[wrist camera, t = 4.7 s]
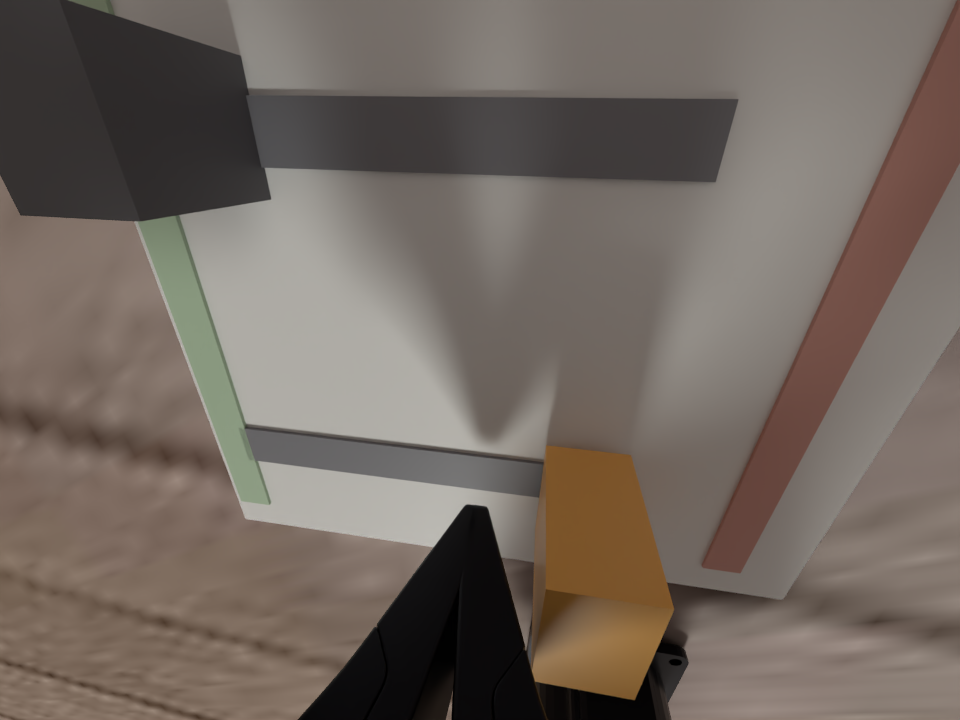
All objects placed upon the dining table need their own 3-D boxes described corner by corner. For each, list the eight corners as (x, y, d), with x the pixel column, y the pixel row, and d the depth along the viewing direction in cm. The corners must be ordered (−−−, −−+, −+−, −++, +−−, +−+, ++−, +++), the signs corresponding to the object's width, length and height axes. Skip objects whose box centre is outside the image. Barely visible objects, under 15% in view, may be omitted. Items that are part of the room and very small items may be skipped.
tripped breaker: (608, 539, 11) (634, 699, 8) (535, 528, 11) (530, 680, 8) (630, 454, 9) (674, 609, 6) (546, 444, 10) (546, 588, 6)
